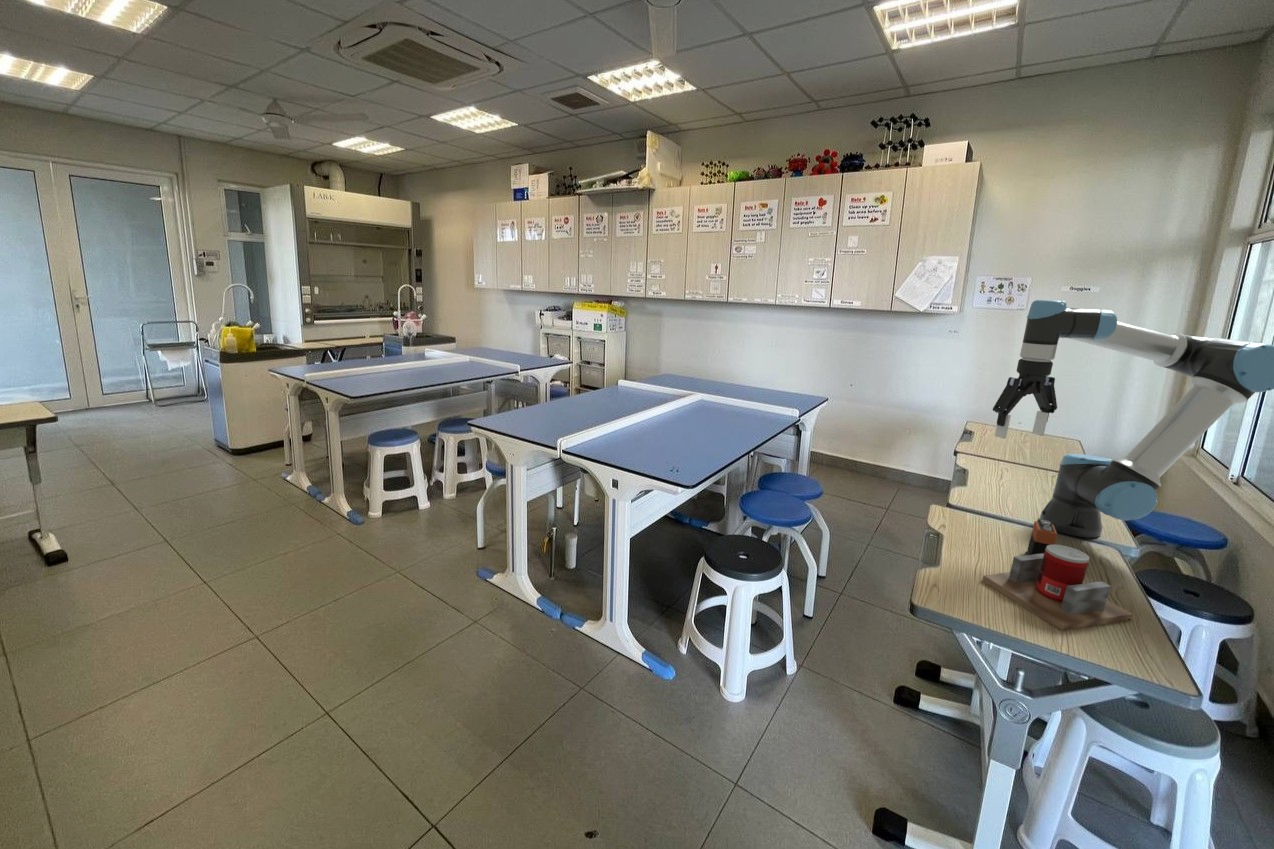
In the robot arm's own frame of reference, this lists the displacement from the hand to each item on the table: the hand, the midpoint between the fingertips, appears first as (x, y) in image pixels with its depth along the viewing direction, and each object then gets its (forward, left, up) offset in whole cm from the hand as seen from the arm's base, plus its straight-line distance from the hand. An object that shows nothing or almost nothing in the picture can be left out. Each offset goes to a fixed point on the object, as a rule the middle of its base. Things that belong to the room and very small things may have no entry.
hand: (1019, 436), depth 149 cm
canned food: (+14, +29, -30) cm, 44 cm away
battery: (-2, +12, -31) cm, 33 cm away
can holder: (+14, +29, -31) cm, 45 cm away
